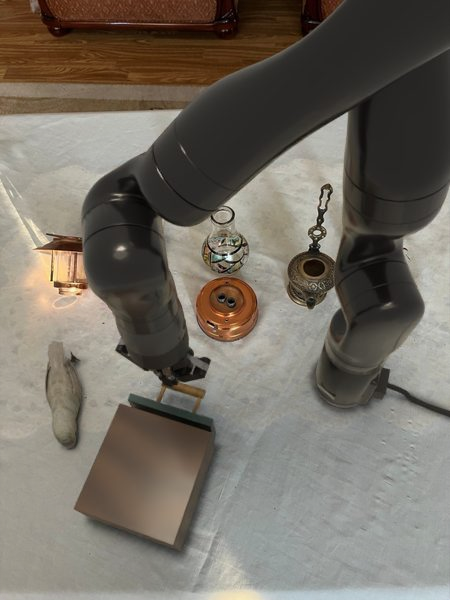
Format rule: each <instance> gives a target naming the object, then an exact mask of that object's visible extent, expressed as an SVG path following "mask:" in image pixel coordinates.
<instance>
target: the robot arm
mask: <svg viewBox="0 0 450 600" xmlns="http://www.w3.org/2000/svg"><path fill="white" fill-rule="evenodd" d="M345 114H347V119H346V121H347V122H346V136H345V144H344V152H343V153H344V154H343V166H342V167H343V169H342V205H341V207H342V208H341V223H342V224H341V225H342V227H341V229H342V231H341V236H340V237H341V238H340V241H339V245H338V246H339V247H338V249H337V253H336V257H335V261H334V266H333V270H332V271H333V272H332V280H333V286H334V291H335V294H336V296H337V299H338V303H339V306H340V307H339V308H338V309H337V310H336V311H335V312H334V314H333V315H332V317H331V319H330V322H329V325H328V328H327V332H326V335H325V338H324V341H323V345H322V349H321V352H320V355H319V358H318V362H317V365H316V367H315V370H314V373H313V386H314V388H315V392H316V393H317V395H318V396H319V397H320V398H321V399H322V400H323V401H324V402H325V403H327V404H328V405H331V406H333V407H334V408H335V407H336V408H339V409H350V408H354V407H356V406H358V405H360V406H364V407H365V406H366V405H367V403H368V402H369V400H370V399H371V398H374V399H379V400H381V401H382V400H383V399H384V398H385V397H386V395H387V390H388V389H389V390H391V391H393V392H396V393H399V394H401V395H403V396H404V397H405V398H406V399H407V400H408V401H410V402H412V403H414V404H416V405H418V406H420V407H423V408H425V409H427V410H430V411H432V412H436V413H438V414H441V415H444V416H448V417H450V410H449V409H445V408H442V407H440V406H436V405H433V404H431V403H428V402H425V401H424V400H421V399H420V398H417V397H416V396H413V395H412V394H411V393H410V392H409V391H408V390H406V389H405V388H402V387H401V386H398V385H396V384H392V383H390V382H389V380H390V373H391V369H390V368H386V367H384V366H385V365H386V363H387V361H388V359H389V357H390V356H391V355H392V354H393V353H394V352H396V351H397V350H398V349H399V348H401V346H403V345H404V344H405V342H406V341H407V340H408V338H409V337H410V336H411V334H412V333H413V332H414V330H415V329H416V328H417V326H418V325H419V324H420V323H421V321H422V319H423V317H424V314H425V312H426V304H425V301H424V298H423V296H422V294H421V292H420V289H419V287H418V284H417V283H416V280H415V278H414V276H413V274H412V270H411V269H410V266H409V264H408V262H407V259H406V255H405V253H404V240H405V238H408V237H410V236H412V235H415V234H417V233H418V232H420V231H423V230H424V229H426V227H428V226H429V225H430V224H431V223H432V222H433V221H434V220H435V219H436V218H437V217H438V215H439V213H440V212H441V209H442V208H443V205H444V203H445V201H446V199H447V196H448V194H449V193H448V192H449V190H450V0H343V1H342V2H341V3H340V4H339V5H338V6H337V7H336V8H335V10H334V11H333V12H332V13H330V14H329V15H328V16H327V17H326V18H325V19H324V20H323V21H322V22H321V23H320V24H319V25H317V26H316V27H315V28H314V29H313V30H312V31H310V32H308V34H306V35H305V36H304V37H303V38H301V39H300V40H298V41H296V42H295V43H293V44H291V45H290V46H288V47H286V48H284V49H283V50H281V51H279V52H278V53H276V54H274V55H273V54H272V56H269V57H267V58H265V59H262V60H261V61H258V62H255V63H253V64H251V65H248V66H245V67H243V68H241V69H239V70H237V71H234V72H233V73H232V72H231V73H230V74H228V75H226V76H224V77H222V78H220V79H218V80H217V81H215V82H213V83H212V84H211V85H209V86H208V87H206V88H205V89H204V90H202V91H201V92H199V94H197V95H196V96H195V97H194V98H193V99H192V100H191V101H190V102H188V104H187V105H186V106H185V107H183V109H182V110H181V112H179V113H178V115H177V116H176V117H175V118H174V119H173V120H172V121H171V122H170V124H169V125H168V126H167V127H166V128H165V129H164V131H162V132H161V134H160V135H159V136H157V138H156V139H155V141H153V143H152V144H151V145H150V146H149V148H147V150H145V151H143V152H142V153H140V154H138V155H136V156H134V157H132V158H130V159H129V160H126V161H125V162H123V163H122V164H121V165H119V166H117V167H116V168H114V169H112V170H111V171H109V172H107V173H106V174H104V175H103V176H102V177H100V178H99V179H98V180H97V181H96V182H95V183H93V185H92V186H91V188H90V189H89V191H88V192H87V194H86V196H85V198H84V200H83V202H82V205H81V209H80V210H81V212H80V224H81V225H80V227H81V249H82V264H83V265H82V266H83V270H84V271H83V272H84V274H85V275H84V276H85V278H86V281H87V284H88V286H89V288H90V290H91V292H92V293H93V294H94V295H95V296H96V297H97V298H98V299H100V300H101V301H102V302H103V303H104V304H105V305H107V306H108V307H109V309H110V311H111V312H112V314H113V317H114V319H115V320H114V321H115V325H116V329H117V331H118V333H119V336H120V338H119V341H118V343H117V345H116V347H115V349H114V351H115V352H116V353H117V354H119V355H120V356H122V357H124V358H125V359H126V360H128V361H129V362H131V363H132V364H134V365H135V366H137V367H138V368H140V369H141V370H143V371H144V372H152V373H153V374H154V375H155V376H156V377H157V378H158V380H159V381H160V382H161V384H162V383H163V385H165V386H169V387H172V388H173V387H174V385H176V386H177V385H178V383H179V382H181V383H189V382H194V381H198V380H202V379H205V378H206V376H207V373H208V371H209V368H210V365H211V362H212V359H211V358H209V357H208V356H201V357H199V356H195V351H194V349H192V347H191V346H190V337H189V331H188V326H187V320H186V317H185V313H184V307H183V305H182V302H181V300H180V297H179V296H178V291H177V287H176V283H175V282H176V281H175V279H174V276H173V274H172V272H171V270H170V267H169V260H168V254H167V253H168V252H167V246H166V239H165V232H164V228H163V225H162V218H163V219H164V220H165V222H167V223H169V224H171V225H173V226H177V227H181V228H192V227H195V226H198V225H200V224H201V223H203V222H205V221H206V220H207V219H209V218H210V217H211V216H213V215H214V214H215V213H216V212H217V211H218V210H220V209H221V208H222V207H223V206H224V205H225V204H227V203H228V202H229V201H230V200H231V199H233V197H235V195H237V194H238V193H239V192H241V191H242V189H244V188H245V187H246V186H247V185H248V184H250V183H251V182H252V181H253V180H254V179H255V178H256V177H257V176H259V175H260V174H261V173H262V172H263V171H265V170H266V169H267V168H268V167H270V165H272V164H273V163H274V162H275V161H277V160H278V159H279V158H281V157H282V156H283V155H285V154H286V153H287V152H288V151H290V150H291V149H293V148H294V147H295V146H297V145H299V144H300V143H301V142H303V141H304V140H305V139H307V138H309V137H310V136H312V135H314V134H315V133H316V132H318V131H320V130H321V129H323V128H324V127H326V126H327V125H329V124H330V123H333V122H334V121H336V120H338V119H339V118H340V117H342V116H343V115H345Z"/></svg>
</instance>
